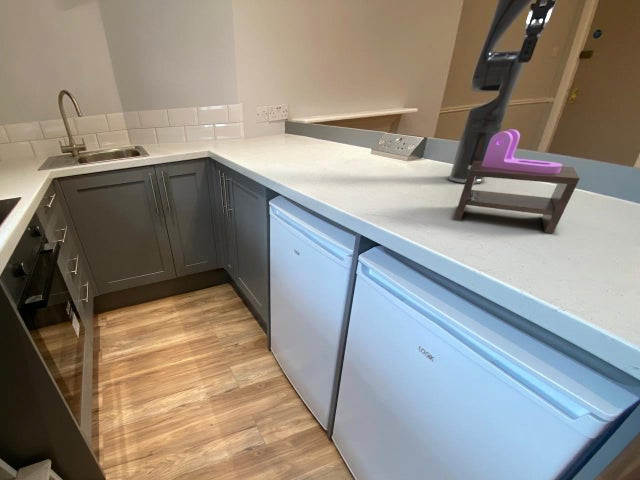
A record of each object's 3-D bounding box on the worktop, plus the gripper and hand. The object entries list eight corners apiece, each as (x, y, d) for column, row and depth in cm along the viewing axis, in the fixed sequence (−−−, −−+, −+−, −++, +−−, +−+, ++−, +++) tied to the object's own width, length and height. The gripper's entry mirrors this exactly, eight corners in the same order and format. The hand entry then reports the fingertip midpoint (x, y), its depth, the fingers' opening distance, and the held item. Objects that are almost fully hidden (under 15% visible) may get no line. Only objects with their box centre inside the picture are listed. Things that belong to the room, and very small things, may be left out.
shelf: (459, 206, 86) (474, 160, 80) (549, 218, 77) (573, 167, 71) (453, 219, 78) (469, 169, 72) (553, 233, 69) (580, 178, 64)
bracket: (481, 166, 75) (492, 131, 71) (491, 162, 78) (502, 128, 74) (554, 175, 66) (572, 135, 62) (562, 170, 69) (580, 132, 65)
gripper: (591, -59, 56) (547, 60, 65) (581, -40, 66) (544, 61, 75) (535, -49, 60) (500, 62, 69) (533, -32, 70) (503, 64, 79)
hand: (523, 62), depth 72 cm, fingers open, 8 cm apart
